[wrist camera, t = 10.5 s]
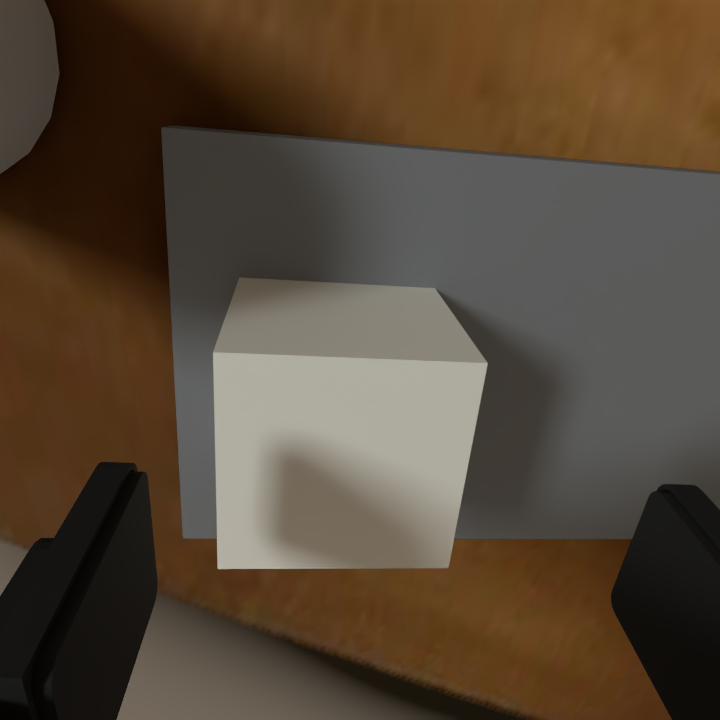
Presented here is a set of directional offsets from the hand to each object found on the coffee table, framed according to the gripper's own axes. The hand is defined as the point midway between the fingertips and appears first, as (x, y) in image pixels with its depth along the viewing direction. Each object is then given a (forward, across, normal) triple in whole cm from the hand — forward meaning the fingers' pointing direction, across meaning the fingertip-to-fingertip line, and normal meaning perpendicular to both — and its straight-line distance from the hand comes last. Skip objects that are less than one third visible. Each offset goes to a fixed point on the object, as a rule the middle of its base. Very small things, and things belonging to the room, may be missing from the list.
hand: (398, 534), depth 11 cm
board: (+10, -5, +1) cm, 11 cm away
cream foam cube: (+9, +1, +1) cm, 9 cm away
